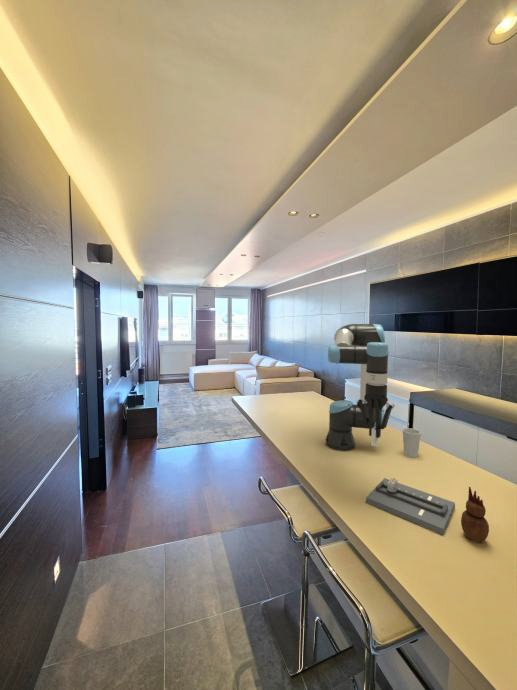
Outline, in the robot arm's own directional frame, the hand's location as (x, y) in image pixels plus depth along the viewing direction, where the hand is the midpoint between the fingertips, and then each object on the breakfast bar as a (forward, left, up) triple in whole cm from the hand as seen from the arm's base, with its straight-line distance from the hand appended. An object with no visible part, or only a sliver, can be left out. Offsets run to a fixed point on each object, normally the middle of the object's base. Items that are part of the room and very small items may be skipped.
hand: (374, 445), depth 112 cm
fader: (+7, 0, -16) cm, 18 cm away
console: (+13, 0, -18) cm, 22 cm away
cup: (+1, +44, -18) cm, 48 cm away
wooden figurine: (+32, -4, -18) cm, 37 cm away
